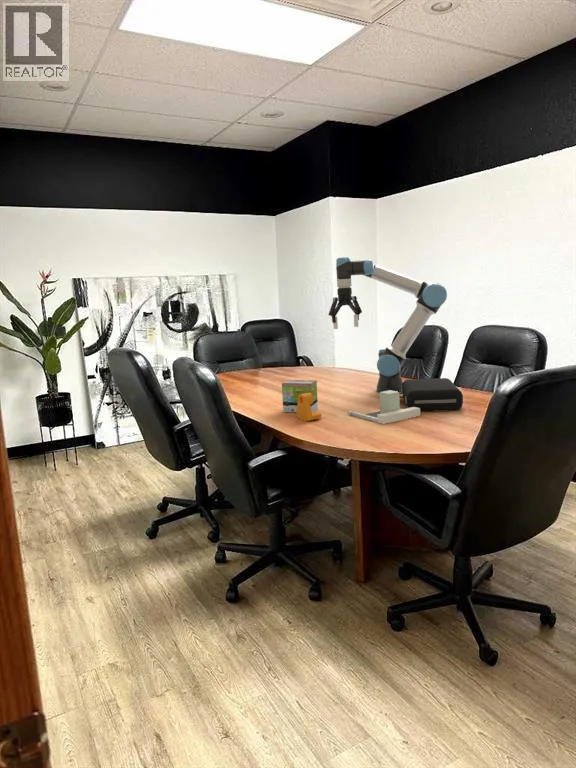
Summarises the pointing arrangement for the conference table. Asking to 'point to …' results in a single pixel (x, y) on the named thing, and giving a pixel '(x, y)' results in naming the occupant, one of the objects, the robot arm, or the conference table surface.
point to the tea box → (298, 393)
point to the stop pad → (373, 414)
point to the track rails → (363, 416)
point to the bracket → (306, 408)
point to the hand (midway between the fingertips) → (346, 327)
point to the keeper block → (389, 401)
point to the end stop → (398, 415)
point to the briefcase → (431, 394)
